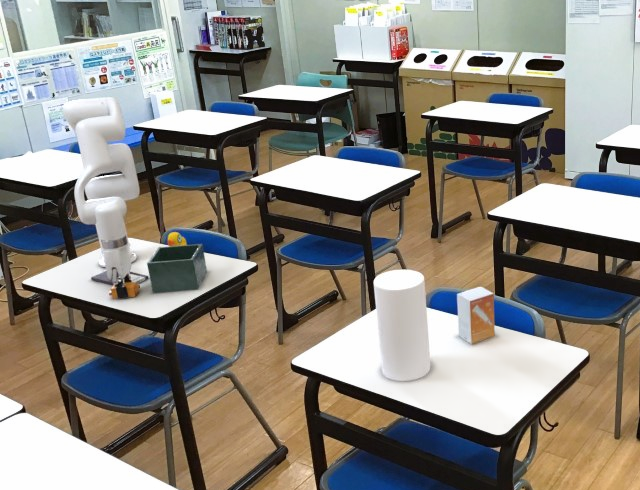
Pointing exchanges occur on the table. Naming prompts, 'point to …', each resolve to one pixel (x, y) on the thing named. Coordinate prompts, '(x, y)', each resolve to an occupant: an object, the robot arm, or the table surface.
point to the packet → (131, 289)
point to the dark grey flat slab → (104, 278)
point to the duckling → (176, 239)
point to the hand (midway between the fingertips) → (125, 294)
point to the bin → (177, 268)
